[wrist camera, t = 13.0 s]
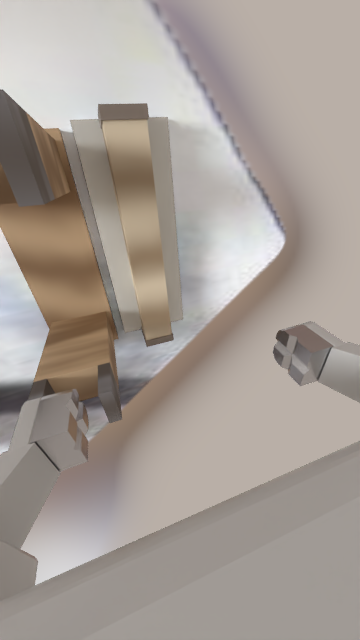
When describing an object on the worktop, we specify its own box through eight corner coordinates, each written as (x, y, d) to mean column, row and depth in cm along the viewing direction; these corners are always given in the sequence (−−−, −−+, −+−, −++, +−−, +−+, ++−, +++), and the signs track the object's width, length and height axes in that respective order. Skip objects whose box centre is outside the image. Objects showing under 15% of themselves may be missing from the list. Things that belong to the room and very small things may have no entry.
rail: (97, 115, 18) (98, 104, 15) (139, 114, 19) (147, 103, 16) (142, 331, 30) (146, 346, 27) (166, 325, 31) (173, 339, 28)
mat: (70, 121, 18) (69, 119, 18) (165, 118, 20) (167, 117, 19) (124, 330, 30) (125, 332, 29) (181, 317, 31) (183, 319, 31)
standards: (-41, 134, 17) (-280, 54, 6) (59, 130, 18) (8, 60, 8) (61, 348, 28) (40, 450, 18) (117, 335, 30) (129, 422, 19)
